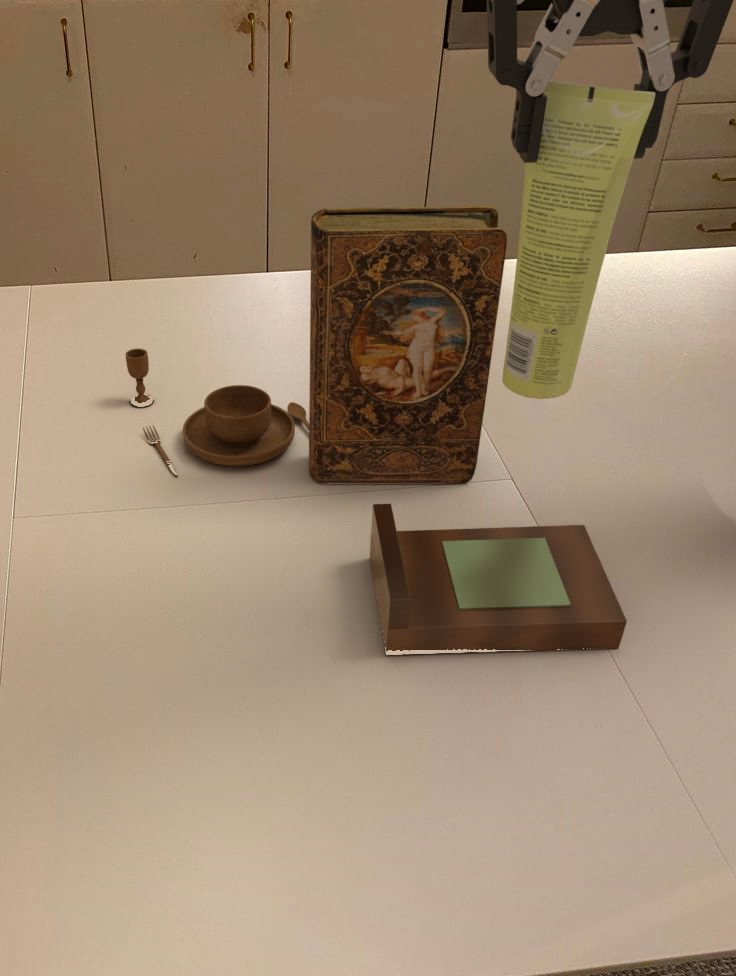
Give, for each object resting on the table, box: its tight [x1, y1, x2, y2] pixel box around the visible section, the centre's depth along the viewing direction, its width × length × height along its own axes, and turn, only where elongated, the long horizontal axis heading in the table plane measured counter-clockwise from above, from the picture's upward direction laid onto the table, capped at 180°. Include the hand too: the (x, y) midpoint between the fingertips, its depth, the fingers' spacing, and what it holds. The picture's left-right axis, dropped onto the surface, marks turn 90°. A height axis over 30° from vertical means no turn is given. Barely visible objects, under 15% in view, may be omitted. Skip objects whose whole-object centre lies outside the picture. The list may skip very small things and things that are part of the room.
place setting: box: [125, 348, 309, 467], centre depth 106 cm, size 18×20×6 cm
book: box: [308, 205, 508, 485], centre depth 92 cm, size 16×6×25 cm, turn 88°
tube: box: [502, 80, 655, 400], centre depth 65 cm, size 6×5×20 cm
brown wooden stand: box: [369, 503, 628, 651], centre depth 83 cm, size 19×13×6 cm
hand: (580, 156), depth 61 cm, fingers closed on tube, 6 cm apart
